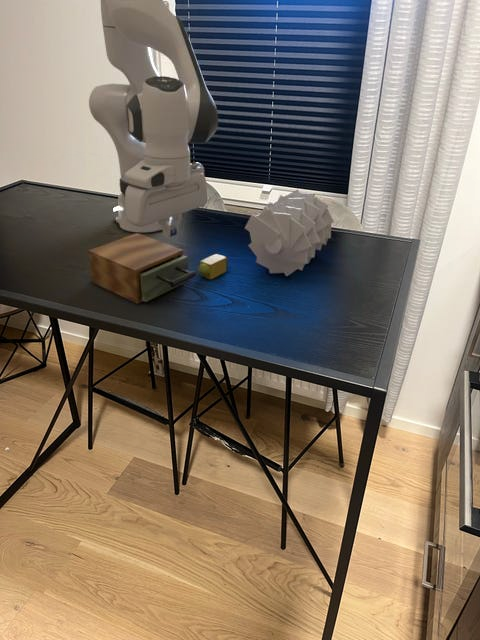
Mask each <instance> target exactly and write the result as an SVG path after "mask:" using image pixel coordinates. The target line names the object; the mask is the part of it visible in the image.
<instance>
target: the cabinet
mask: <svg viewBox="0 0 480 640" xmlns="http://www.w3.org/2000/svg"><path fill="white" fill-rule="evenodd" d="M176 256H177V258H179V257H181V256H184V250H183V248H182V249H181V248H179V247H177V246H174V245H171V244H169V243H166V242H163V241H160V240H157V239H154V238H153V237H149V236H146V235H144V234H142V233H139V232H135V233H134V234H130V235H128V236H125V237H122V238H120V239H116V240H114V241H111V242H108V243H105V244H103V245H100V246H97V247H93V248H92V249H91V248H90V249H89V250H88V257H89V263H90V264H89V265H90V272H91V278H92V283H93V284H95V285H98V286H99V287H101V288H103V289H106V290H107V291H110V292H111V293H114V294H116V295H117V296H120V297H123V298H124V299H127V300H128V301H131V302H133V303H134V304H137V305H139V304H141V303H144V301H142V295H141V296H140V288H139V276H138V272H141V271H143V270H145V269H148V268H150V267H152V266H155V265H157V264H159V263H162V262H164V261H166V260H169V259H171V258H173V257H176Z"/></svg>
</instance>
